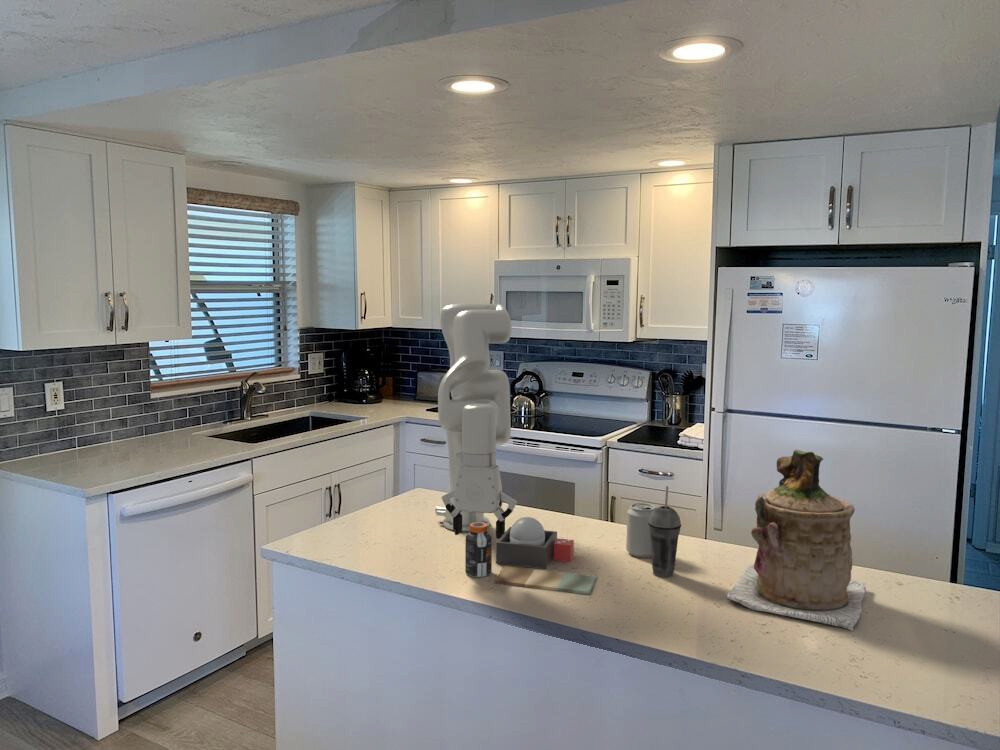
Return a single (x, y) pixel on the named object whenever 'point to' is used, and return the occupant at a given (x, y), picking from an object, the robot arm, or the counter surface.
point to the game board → (546, 579)
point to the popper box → (534, 551)
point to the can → (639, 529)
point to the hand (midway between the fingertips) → (478, 535)
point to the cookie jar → (802, 550)
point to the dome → (527, 532)
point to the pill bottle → (478, 550)
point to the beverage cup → (664, 539)
